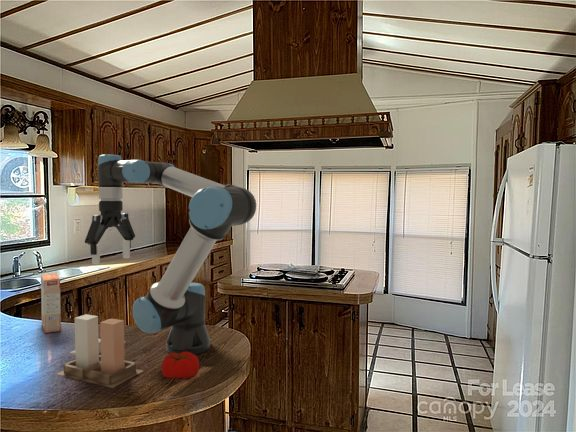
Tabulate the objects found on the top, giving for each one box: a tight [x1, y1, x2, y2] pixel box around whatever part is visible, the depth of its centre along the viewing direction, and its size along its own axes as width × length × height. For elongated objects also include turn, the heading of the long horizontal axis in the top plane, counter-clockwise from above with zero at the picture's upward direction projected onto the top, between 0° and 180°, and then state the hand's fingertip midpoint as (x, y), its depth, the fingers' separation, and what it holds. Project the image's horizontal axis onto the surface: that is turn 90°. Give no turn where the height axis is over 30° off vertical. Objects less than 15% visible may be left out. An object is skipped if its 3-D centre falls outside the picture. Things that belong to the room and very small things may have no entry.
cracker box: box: [40, 272, 62, 334], centre depth 167 cm, size 14×6×21 cm, turn 34°
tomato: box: [161, 351, 200, 380], centre depth 125 cm, size 10×11×6 cm
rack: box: [55, 354, 144, 389], centre depth 124 cm, size 22×12×4 cm, turn 67°
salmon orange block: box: [99, 318, 126, 374], centre depth 122 cm, size 4×5×16 cm
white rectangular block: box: [74, 313, 100, 368], centre depth 125 cm, size 4×5×16 cm
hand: (111, 261), depth 145 cm, fingers open, 13 cm apart
